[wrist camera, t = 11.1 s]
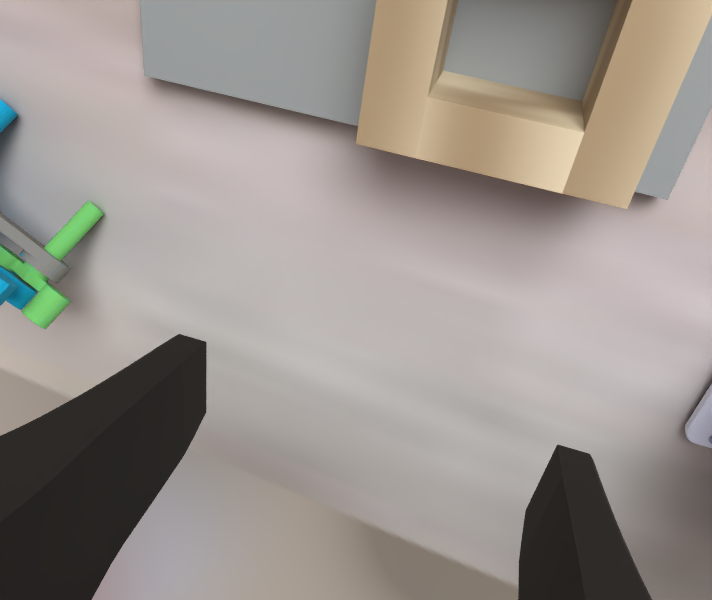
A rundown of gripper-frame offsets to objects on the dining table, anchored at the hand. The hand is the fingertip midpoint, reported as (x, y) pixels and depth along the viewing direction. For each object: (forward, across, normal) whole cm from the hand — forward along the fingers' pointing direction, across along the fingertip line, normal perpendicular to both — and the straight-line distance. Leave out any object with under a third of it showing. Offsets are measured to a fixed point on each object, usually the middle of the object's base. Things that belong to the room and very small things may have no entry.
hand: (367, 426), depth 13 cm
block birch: (+9, -1, -6) cm, 11 cm away
